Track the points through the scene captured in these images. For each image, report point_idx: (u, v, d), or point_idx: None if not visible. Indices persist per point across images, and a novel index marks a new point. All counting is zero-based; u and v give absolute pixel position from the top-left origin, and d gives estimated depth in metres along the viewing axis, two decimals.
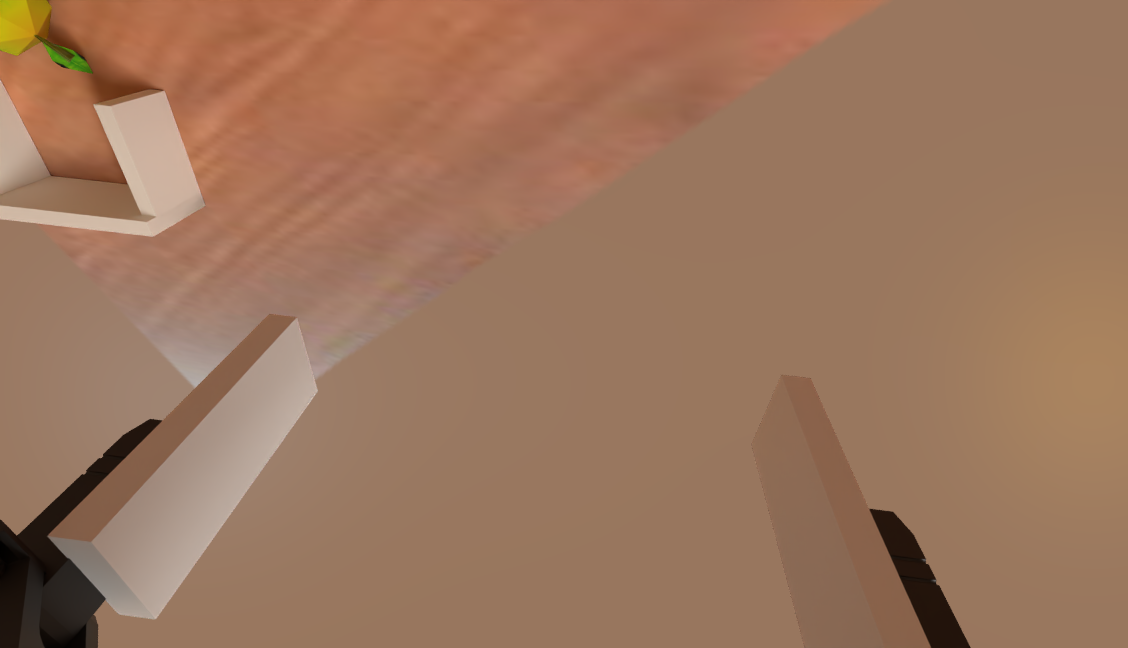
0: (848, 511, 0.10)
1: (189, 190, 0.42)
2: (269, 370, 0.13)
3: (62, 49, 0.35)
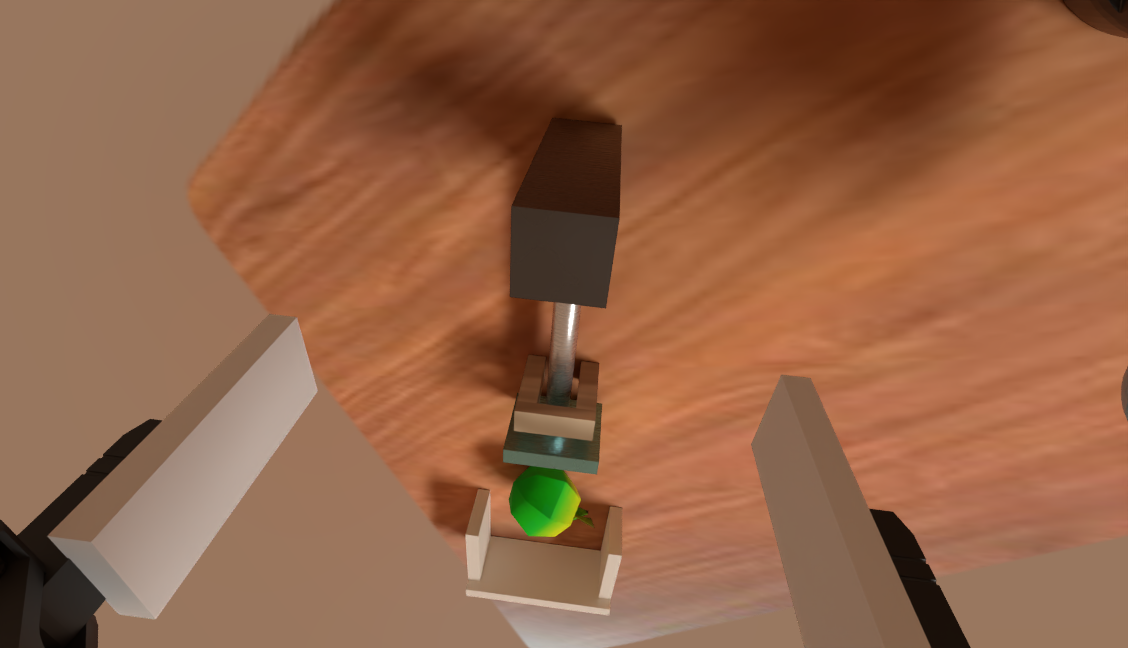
0: (848, 511, 0.10)
1: None
2: (269, 370, 0.13)
3: (585, 517, 0.48)
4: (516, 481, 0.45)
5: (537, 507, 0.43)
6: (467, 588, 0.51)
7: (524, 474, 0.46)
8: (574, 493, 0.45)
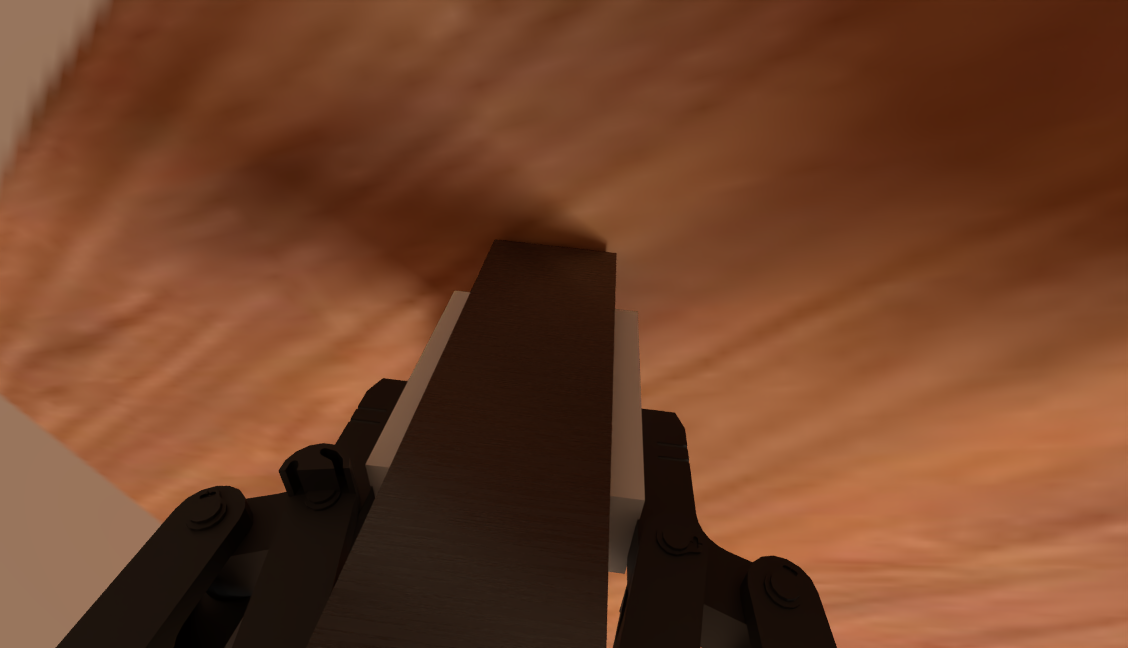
0: (622, 405, 0.12)
1: None
2: None
3: None
4: None
5: None
6: None
7: None
8: None
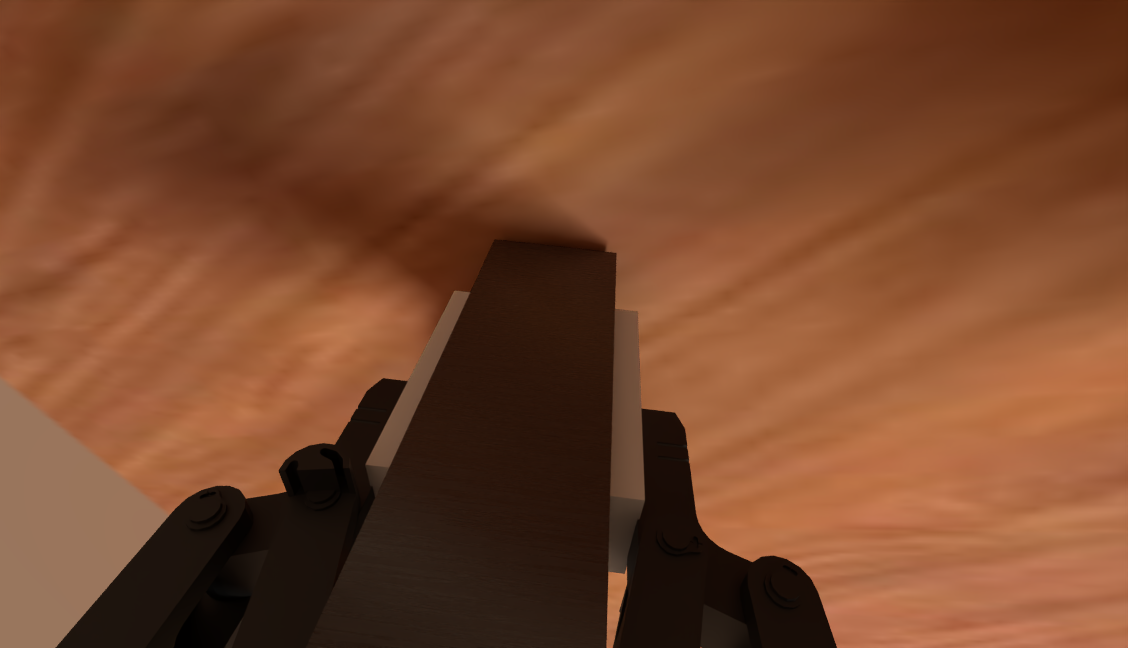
0: (622, 405, 0.12)
1: None
2: None
3: None
4: None
5: None
6: None
7: None
8: None
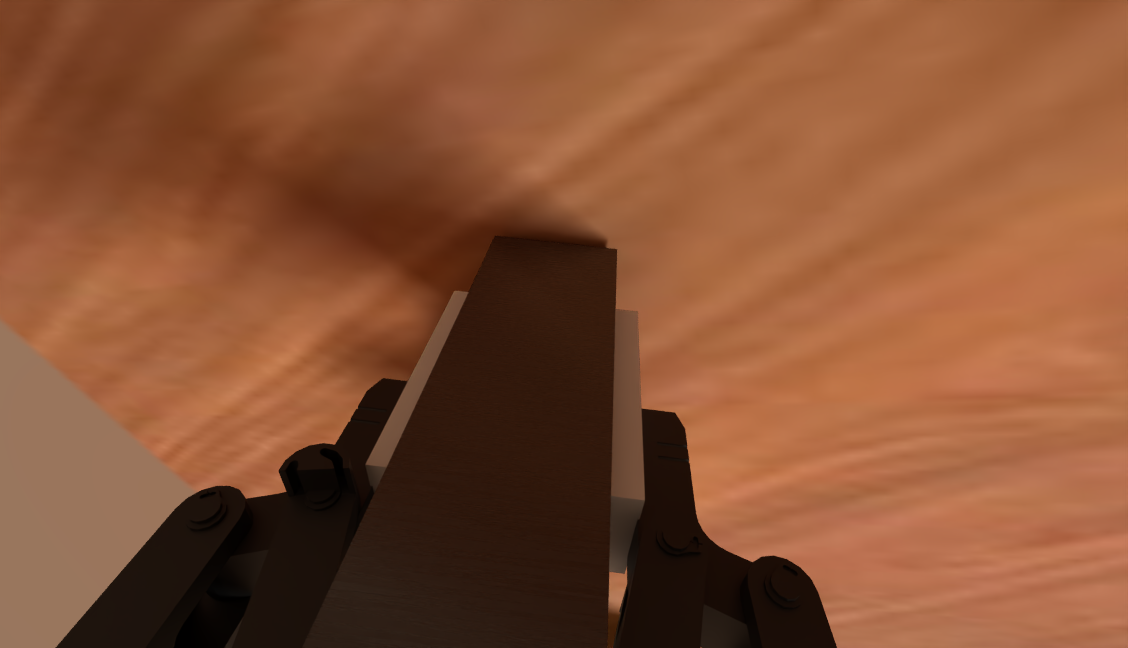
0: (622, 405, 0.12)
1: None
2: None
3: None
4: None
5: None
6: None
7: None
8: None
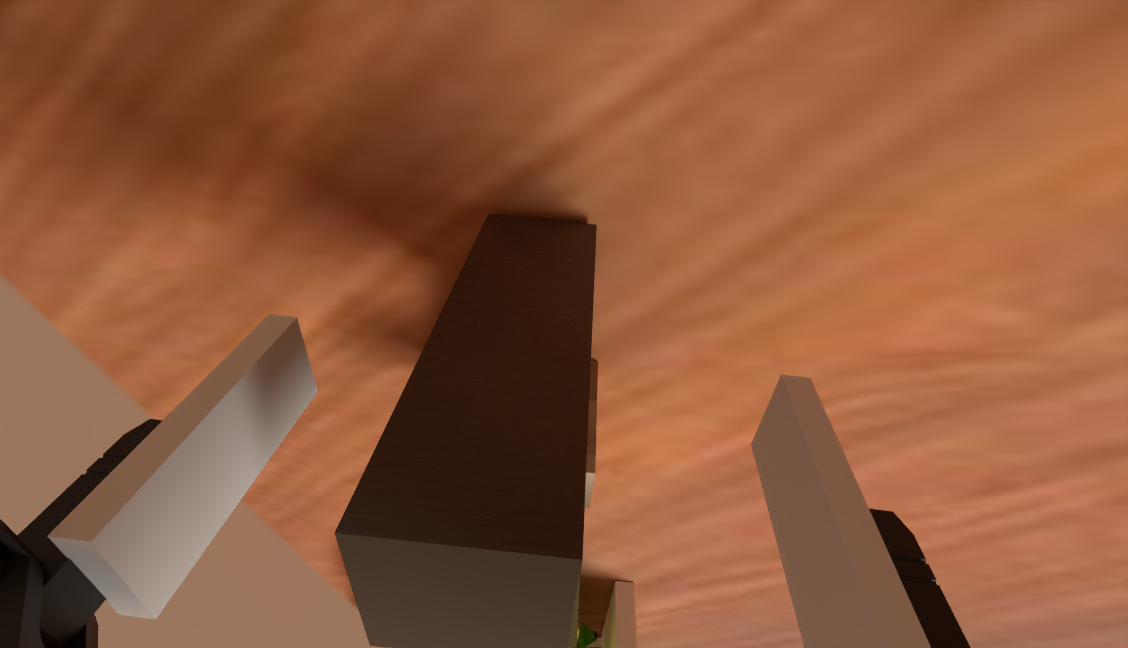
0: (848, 511, 0.10)
1: None
2: (269, 370, 0.13)
3: None
4: None
5: None
6: None
7: None
8: None
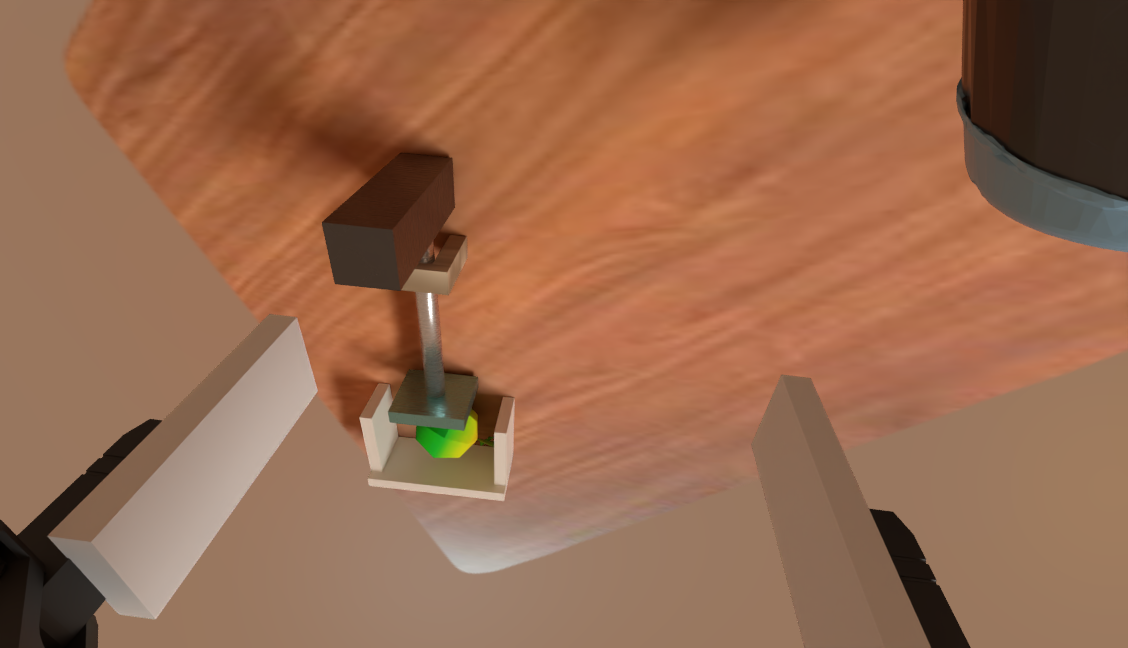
0: (848, 511, 0.10)
1: (511, 453, 0.57)
2: (269, 370, 0.13)
3: (489, 441, 0.54)
4: None
5: (433, 429, 0.50)
6: (369, 477, 0.53)
7: None
8: (469, 416, 0.51)
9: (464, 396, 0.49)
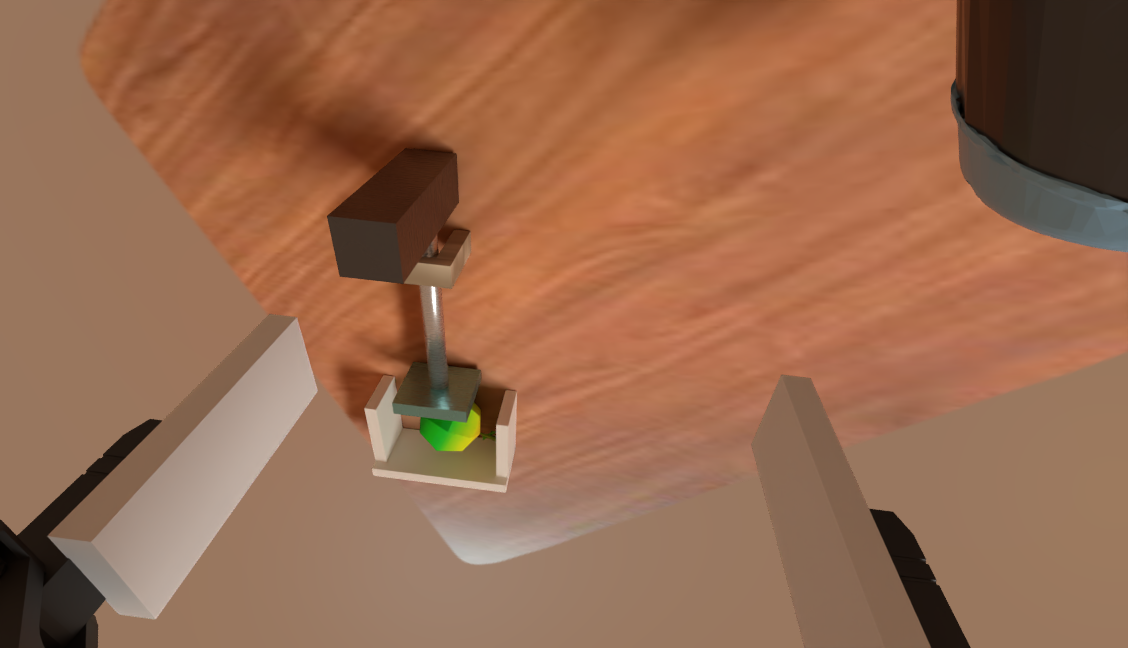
0: (848, 511, 0.10)
1: (514, 445, 0.58)
2: (269, 370, 0.13)
3: (492, 435, 0.55)
4: None
5: (436, 423, 0.51)
6: (373, 467, 0.54)
7: None
8: (472, 411, 0.52)
9: (467, 389, 0.50)
